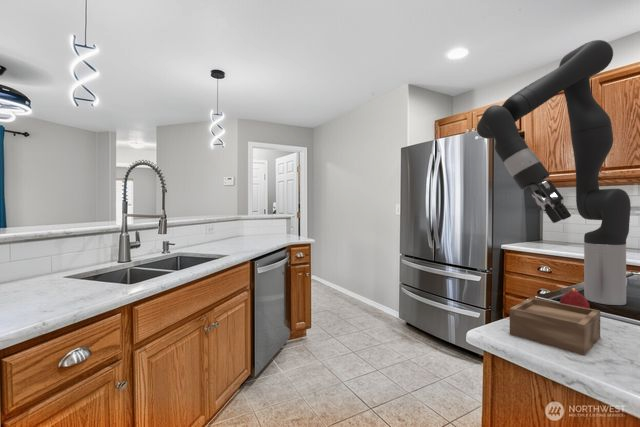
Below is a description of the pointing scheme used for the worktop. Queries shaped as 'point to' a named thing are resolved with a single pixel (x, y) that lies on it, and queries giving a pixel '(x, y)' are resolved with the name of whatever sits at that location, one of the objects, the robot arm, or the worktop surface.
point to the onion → (575, 299)
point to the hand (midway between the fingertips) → (562, 220)
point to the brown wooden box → (556, 324)
